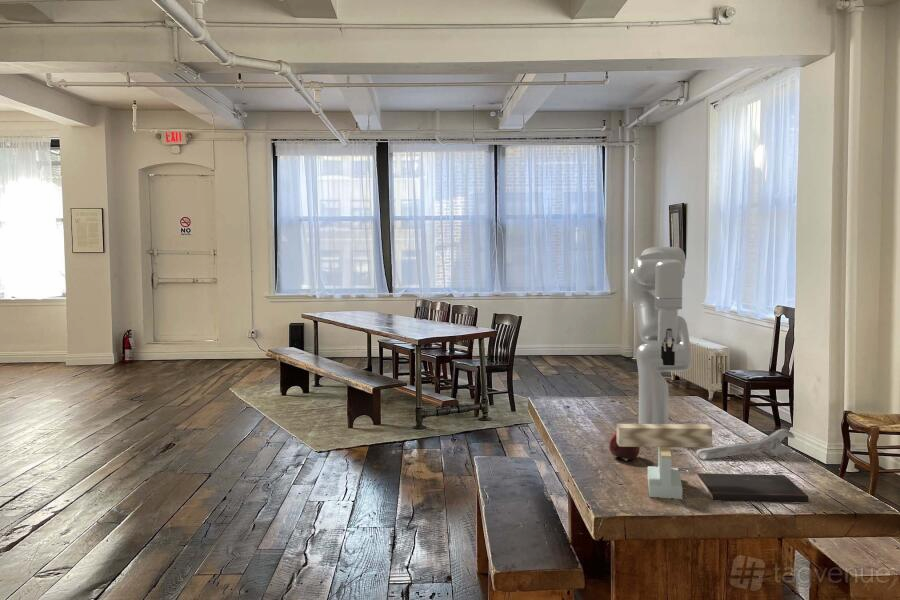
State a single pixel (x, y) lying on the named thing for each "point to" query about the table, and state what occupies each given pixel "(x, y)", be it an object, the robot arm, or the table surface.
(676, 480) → the ridge stand
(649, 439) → the birch bar
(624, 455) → the fruit
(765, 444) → the wrench
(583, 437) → the table surface
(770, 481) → the hardcover book
